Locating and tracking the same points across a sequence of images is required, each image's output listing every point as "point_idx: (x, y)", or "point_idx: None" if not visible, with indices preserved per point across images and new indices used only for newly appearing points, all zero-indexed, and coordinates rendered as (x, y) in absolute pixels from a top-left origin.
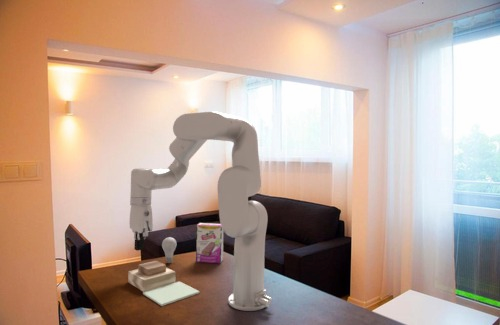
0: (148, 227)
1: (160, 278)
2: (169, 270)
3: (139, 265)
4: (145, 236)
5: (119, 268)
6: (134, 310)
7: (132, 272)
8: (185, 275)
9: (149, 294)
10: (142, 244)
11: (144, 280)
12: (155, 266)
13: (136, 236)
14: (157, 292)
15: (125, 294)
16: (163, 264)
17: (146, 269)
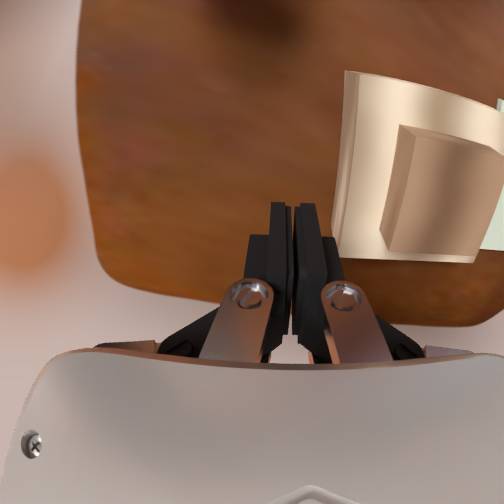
0: (453, 433)
1: None
2: (491, 122)
3: (401, 251)
4: (373, 313)
5: (126, 179)
6: (489, 295)
7: (369, 253)
8: (451, 8)
9: (485, 242)
10: (336, 262)
11: (472, 261)
12: (483, 211)
13: (269, 359)
14: (498, 220)
15: (414, 275)
16: (497, 163)
17: (464, 253)
